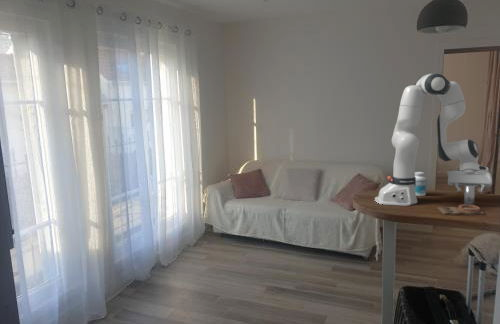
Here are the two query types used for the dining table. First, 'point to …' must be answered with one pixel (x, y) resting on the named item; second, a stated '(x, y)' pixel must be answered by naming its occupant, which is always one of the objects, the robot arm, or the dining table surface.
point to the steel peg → (469, 194)
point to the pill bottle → (420, 184)
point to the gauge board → (456, 212)
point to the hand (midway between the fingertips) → (469, 192)
